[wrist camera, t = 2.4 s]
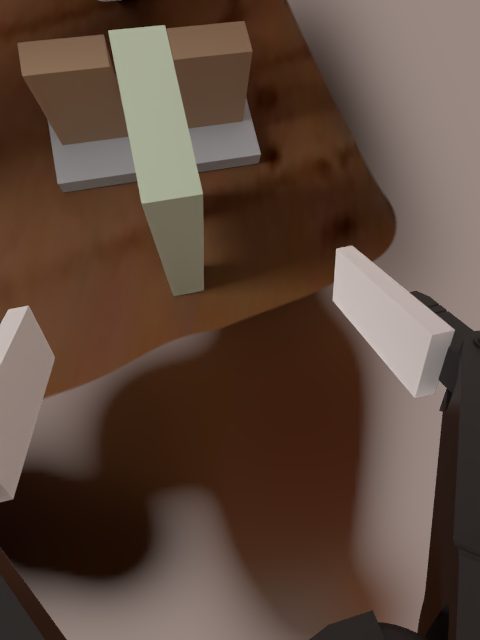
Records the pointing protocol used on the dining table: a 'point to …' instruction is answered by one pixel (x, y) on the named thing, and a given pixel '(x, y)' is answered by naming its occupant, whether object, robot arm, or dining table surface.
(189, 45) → the brown grey slotted block
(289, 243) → the dining table surface
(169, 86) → the green plank
